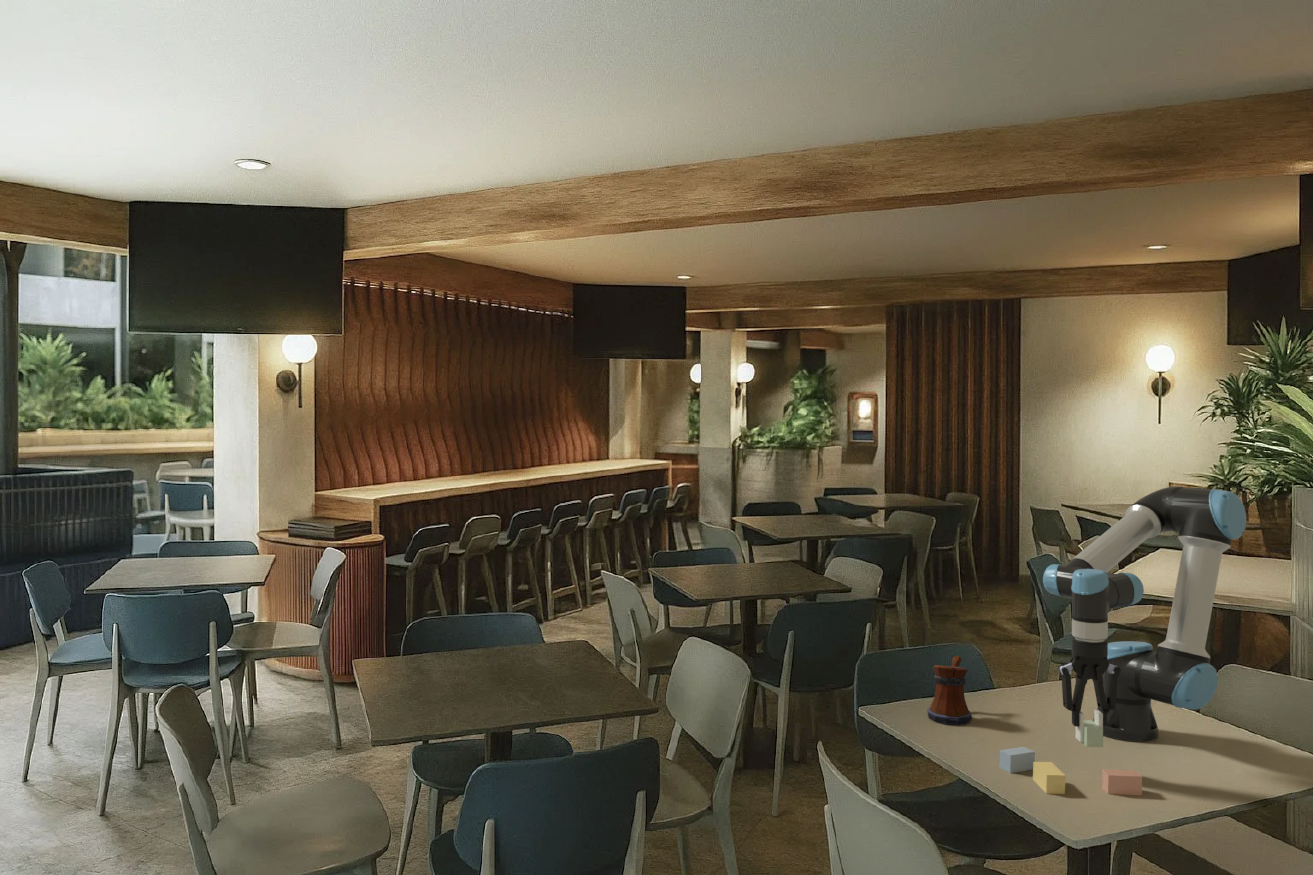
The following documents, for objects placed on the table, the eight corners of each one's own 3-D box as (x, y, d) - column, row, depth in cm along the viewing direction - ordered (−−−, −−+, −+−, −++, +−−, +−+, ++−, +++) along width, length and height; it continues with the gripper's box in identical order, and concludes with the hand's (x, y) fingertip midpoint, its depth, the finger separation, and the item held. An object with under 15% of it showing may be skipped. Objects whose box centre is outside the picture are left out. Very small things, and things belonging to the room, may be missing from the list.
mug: (935, 703, 279) (936, 650, 279) (978, 709, 274) (979, 655, 274) (923, 721, 263) (924, 665, 263) (968, 728, 258) (969, 670, 258)
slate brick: (1023, 764, 233) (1023, 746, 233) (1034, 769, 229) (1034, 751, 229) (999, 768, 230) (999, 750, 230) (1010, 773, 227) (1010, 755, 227)
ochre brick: (1032, 780, 223) (1033, 761, 223) (1050, 780, 223) (1051, 762, 223) (1046, 794, 215) (1046, 774, 215) (1064, 794, 215) (1065, 775, 215)
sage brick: (1076, 738, 231) (1076, 720, 231) (1091, 738, 231) (1091, 720, 230) (1086, 746, 225) (1086, 728, 225) (1102, 746, 225) (1102, 728, 224)
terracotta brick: (1135, 789, 218) (1135, 770, 218) (1141, 795, 215) (1142, 776, 214) (1102, 788, 219) (1102, 769, 219) (1108, 794, 215) (1108, 775, 215)
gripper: (1118, 633, 230) (1118, 733, 231) (1046, 634, 231) (1046, 734, 232) (1134, 641, 223) (1133, 745, 224) (1059, 642, 223) (1058, 746, 224)
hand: (1089, 739), depth 228 cm, fingers closed on sage brick, 4 cm apart
